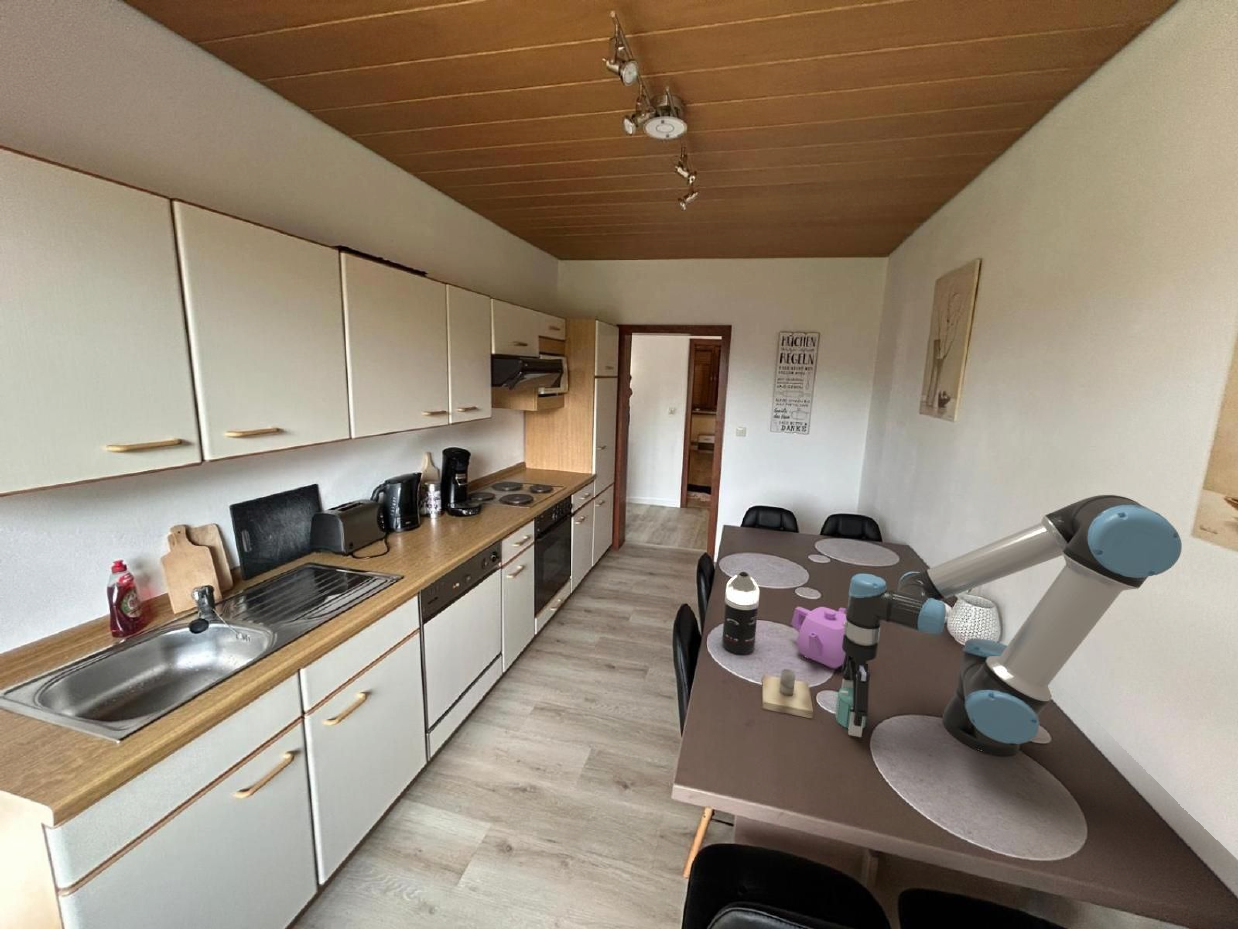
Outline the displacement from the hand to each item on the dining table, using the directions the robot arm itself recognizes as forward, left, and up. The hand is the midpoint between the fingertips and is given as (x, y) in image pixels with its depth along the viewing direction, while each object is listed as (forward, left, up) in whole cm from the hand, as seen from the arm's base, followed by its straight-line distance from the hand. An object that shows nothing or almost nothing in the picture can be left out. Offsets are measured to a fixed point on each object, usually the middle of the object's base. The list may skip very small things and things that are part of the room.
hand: (849, 718), depth 121 cm
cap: (0, 0, -1) cm, 1 cm away
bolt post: (+15, -4, -1) cm, 16 cm away
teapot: (+2, -29, -1) cm, 29 cm away
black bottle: (+28, -26, -1) cm, 38 cm away
